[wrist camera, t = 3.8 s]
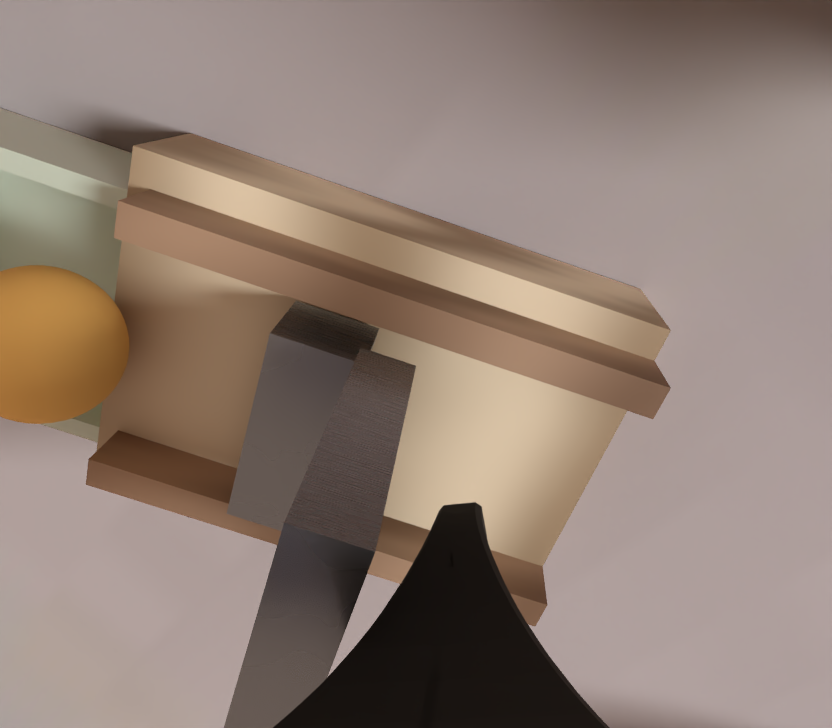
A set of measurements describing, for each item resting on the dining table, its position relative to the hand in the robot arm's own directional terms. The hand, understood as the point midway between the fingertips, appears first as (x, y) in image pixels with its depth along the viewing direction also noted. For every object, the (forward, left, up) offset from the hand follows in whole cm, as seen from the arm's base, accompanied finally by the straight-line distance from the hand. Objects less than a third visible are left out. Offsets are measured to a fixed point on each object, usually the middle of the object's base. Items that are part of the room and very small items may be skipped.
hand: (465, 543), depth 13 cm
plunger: (+4, 0, -3) cm, 5 cm away
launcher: (+3, 0, -6) cm, 7 cm away
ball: (+10, 0, -2) cm, 10 cm away
